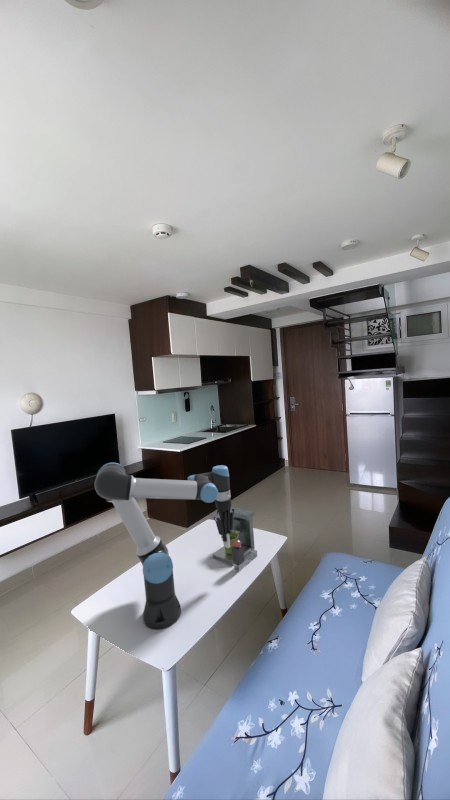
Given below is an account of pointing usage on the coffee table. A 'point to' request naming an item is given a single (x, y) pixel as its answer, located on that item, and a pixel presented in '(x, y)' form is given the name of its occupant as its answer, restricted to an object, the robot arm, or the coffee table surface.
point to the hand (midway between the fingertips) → (227, 546)
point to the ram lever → (237, 552)
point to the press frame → (240, 539)
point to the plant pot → (231, 542)
